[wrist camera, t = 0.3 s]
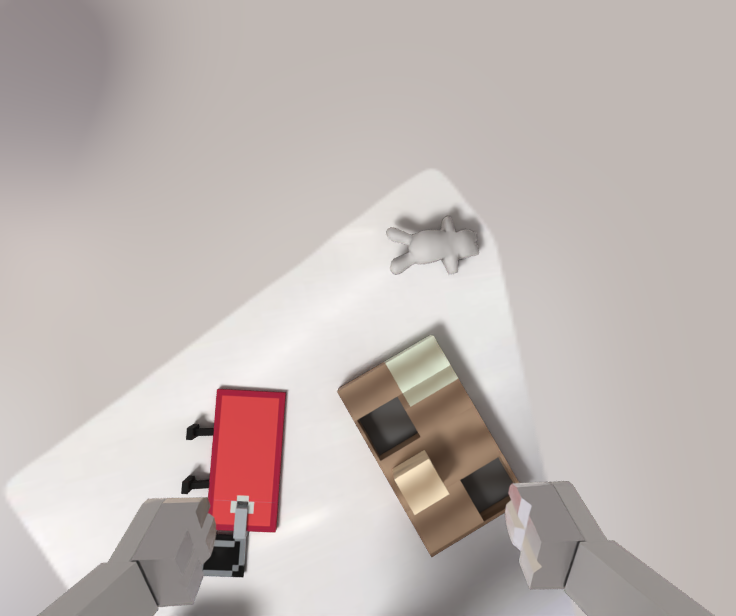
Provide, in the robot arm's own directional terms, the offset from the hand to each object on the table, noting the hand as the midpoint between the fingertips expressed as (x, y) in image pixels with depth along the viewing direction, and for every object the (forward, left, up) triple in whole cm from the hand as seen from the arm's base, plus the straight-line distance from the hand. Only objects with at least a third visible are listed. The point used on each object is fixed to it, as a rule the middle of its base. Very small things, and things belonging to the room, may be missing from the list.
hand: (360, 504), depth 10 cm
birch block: (-21, +2, -50) cm, 54 cm away
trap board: (-18, -3, -53) cm, 56 cm away
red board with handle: (-8, +29, -53) cm, 61 cm away
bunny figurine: (+10, -19, -53) cm, 57 cm away
